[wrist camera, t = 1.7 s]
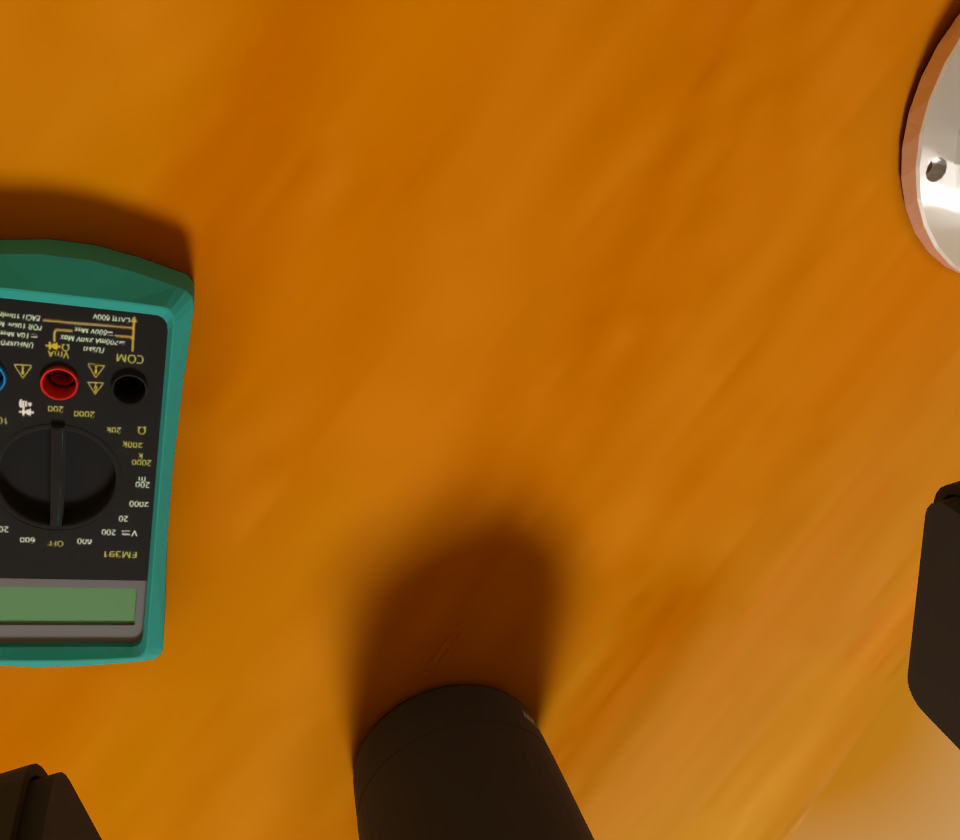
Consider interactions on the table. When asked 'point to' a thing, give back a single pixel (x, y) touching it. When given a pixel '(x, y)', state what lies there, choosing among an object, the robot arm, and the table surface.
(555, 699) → the table surface
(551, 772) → the pen holder
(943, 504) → the robot arm
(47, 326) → the digital multimeter
